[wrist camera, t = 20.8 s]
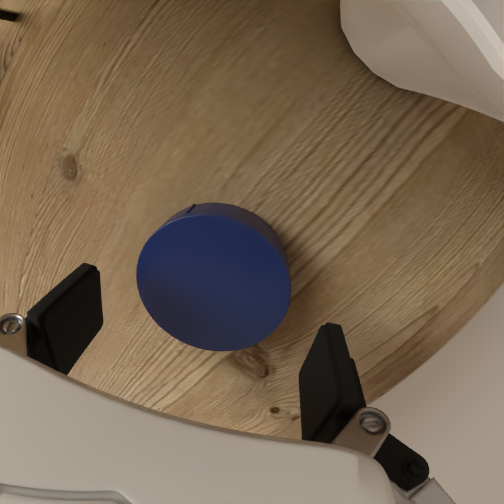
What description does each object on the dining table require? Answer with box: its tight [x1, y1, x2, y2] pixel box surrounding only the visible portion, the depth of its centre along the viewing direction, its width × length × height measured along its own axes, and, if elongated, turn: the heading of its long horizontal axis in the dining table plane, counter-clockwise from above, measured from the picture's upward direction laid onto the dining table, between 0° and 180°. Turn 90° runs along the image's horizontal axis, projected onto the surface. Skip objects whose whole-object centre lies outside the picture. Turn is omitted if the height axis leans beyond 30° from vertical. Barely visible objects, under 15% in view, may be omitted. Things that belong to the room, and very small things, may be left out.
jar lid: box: [136, 203, 291, 351], centre depth 13 cm, size 7×7×2 cm
